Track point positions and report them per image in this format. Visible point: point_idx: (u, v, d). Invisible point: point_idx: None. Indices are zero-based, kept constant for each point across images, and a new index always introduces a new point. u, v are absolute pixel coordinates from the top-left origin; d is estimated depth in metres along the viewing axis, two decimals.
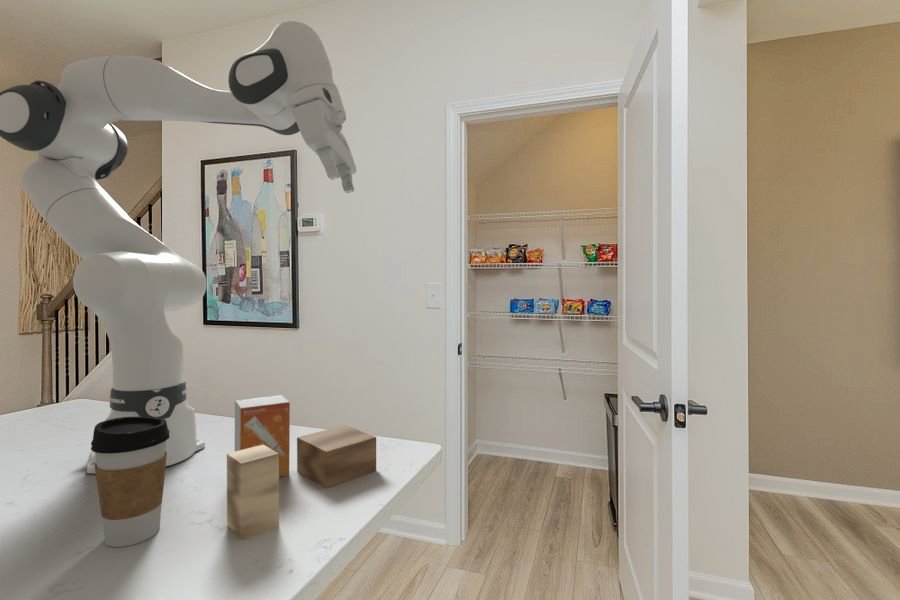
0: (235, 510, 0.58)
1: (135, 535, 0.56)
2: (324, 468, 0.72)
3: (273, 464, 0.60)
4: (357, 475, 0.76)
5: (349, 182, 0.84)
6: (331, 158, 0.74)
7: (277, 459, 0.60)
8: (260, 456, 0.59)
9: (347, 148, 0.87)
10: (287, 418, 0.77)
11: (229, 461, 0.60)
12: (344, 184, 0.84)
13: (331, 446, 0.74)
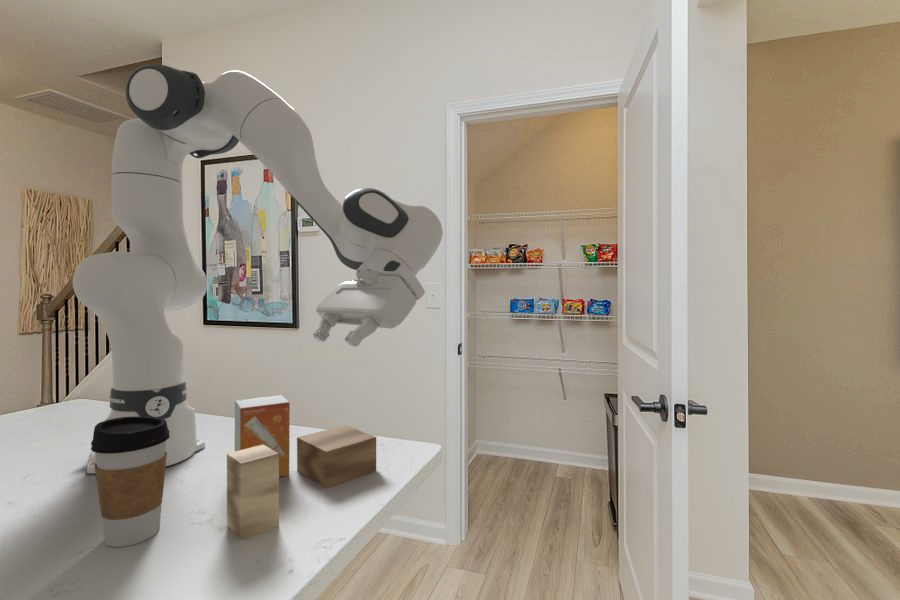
0: (235, 510, 0.58)
1: (135, 535, 0.56)
2: (324, 468, 0.72)
3: (273, 464, 0.60)
4: (357, 475, 0.76)
5: (328, 335, 0.73)
6: (369, 333, 0.67)
7: (277, 459, 0.60)
8: (260, 456, 0.59)
9: None
10: (287, 418, 0.77)
11: (229, 461, 0.60)
12: (323, 331, 0.72)
13: (331, 446, 0.74)
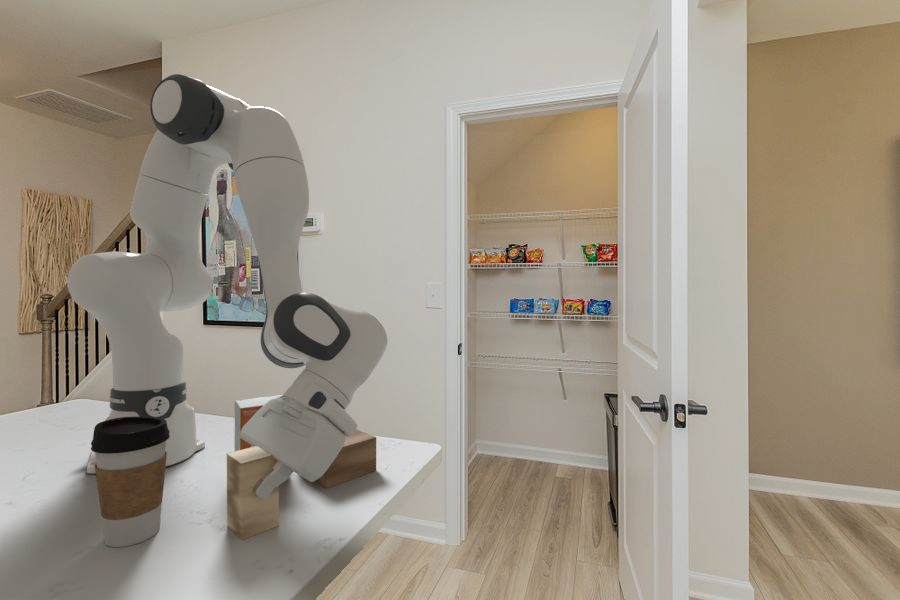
0: (235, 509, 0.58)
1: (135, 535, 0.56)
2: None
3: (273, 464, 0.60)
4: (357, 475, 0.76)
5: None
6: (281, 482, 0.59)
7: None
8: (260, 456, 0.59)
9: None
10: None
11: (229, 461, 0.60)
12: None
13: None
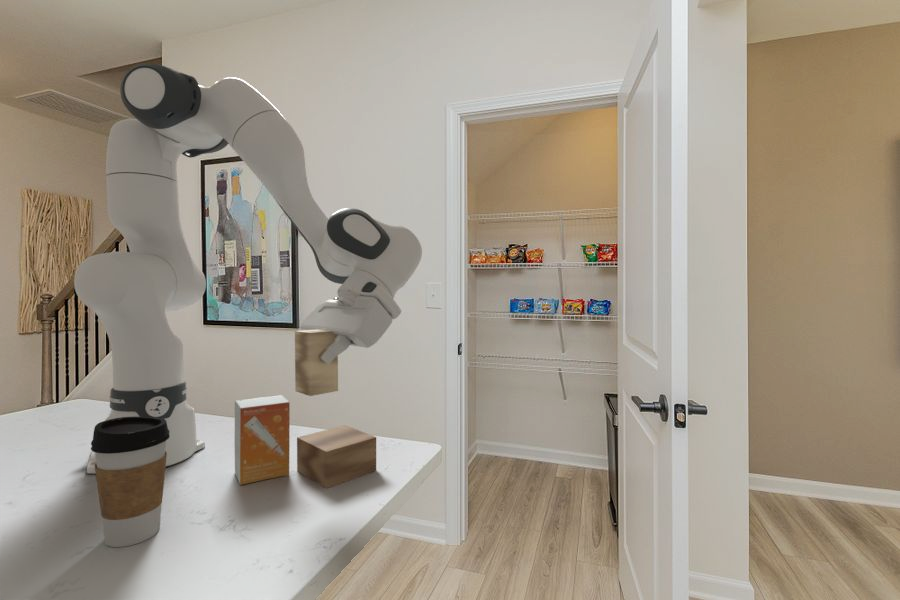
0: (304, 373, 0.71)
1: (135, 535, 0.56)
2: (324, 468, 0.72)
3: (333, 339, 0.73)
4: (357, 475, 0.76)
5: None
6: (341, 351, 0.71)
7: (336, 335, 0.73)
8: (323, 331, 0.72)
9: None
10: (287, 418, 0.77)
11: (297, 336, 0.72)
12: None
13: (331, 446, 0.74)
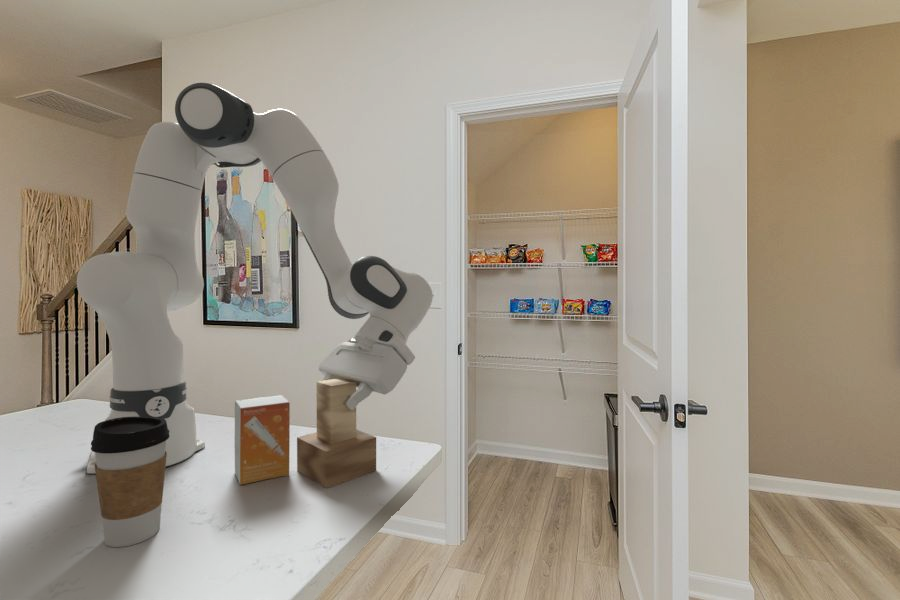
0: (325, 422, 0.77)
1: (135, 535, 0.56)
2: (324, 468, 0.72)
3: (352, 389, 0.78)
4: (357, 475, 0.76)
5: None
6: (364, 398, 0.76)
7: (355, 386, 0.79)
8: (343, 382, 0.78)
9: None
10: (287, 418, 0.77)
11: (319, 387, 0.78)
12: None
13: (331, 446, 0.74)
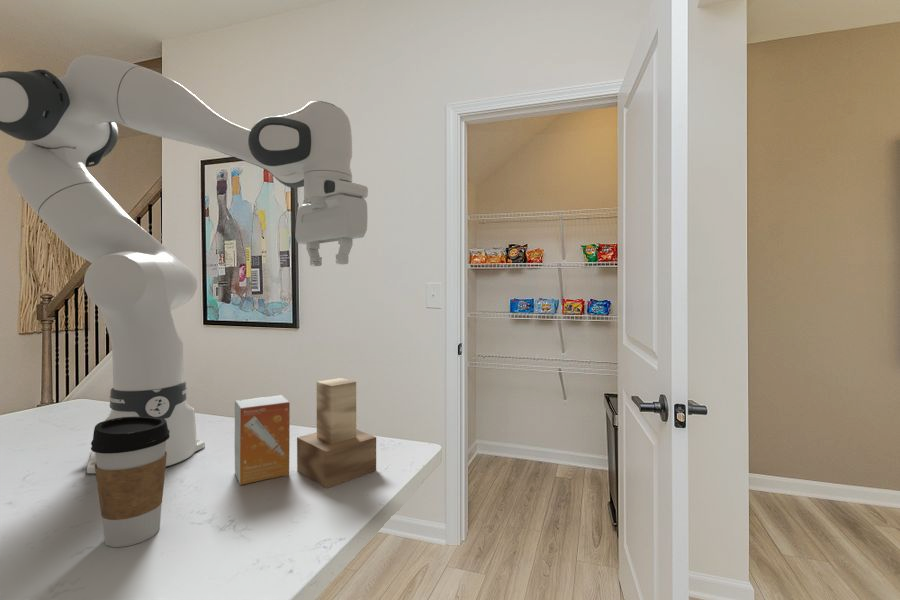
0: (325, 422, 0.77)
1: (135, 535, 0.56)
2: (324, 468, 0.72)
3: (352, 389, 0.78)
4: (357, 475, 0.76)
5: (320, 258, 0.87)
6: (350, 248, 0.80)
7: (355, 386, 0.79)
8: (343, 382, 0.78)
9: None
10: (287, 418, 0.77)
11: (319, 387, 0.78)
12: (315, 258, 0.86)
13: (331, 446, 0.74)
